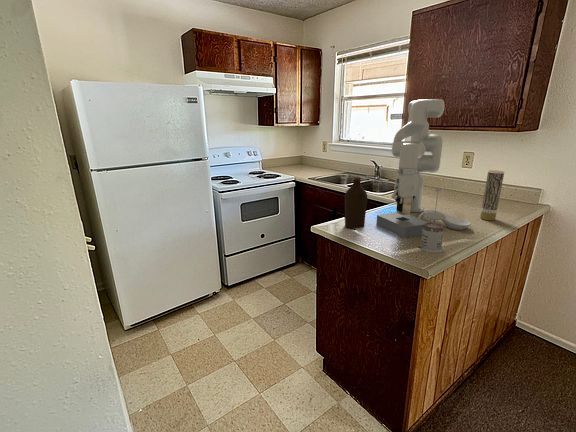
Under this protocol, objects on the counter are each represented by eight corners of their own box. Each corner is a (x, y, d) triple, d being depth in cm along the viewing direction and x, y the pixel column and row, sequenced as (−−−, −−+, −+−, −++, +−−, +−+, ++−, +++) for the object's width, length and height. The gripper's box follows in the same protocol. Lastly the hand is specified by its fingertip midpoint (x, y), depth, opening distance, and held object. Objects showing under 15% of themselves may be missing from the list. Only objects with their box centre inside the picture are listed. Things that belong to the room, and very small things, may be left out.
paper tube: (482, 216, 167) (490, 169, 159) (496, 218, 162) (505, 171, 155) (478, 219, 162) (486, 171, 155) (493, 221, 158) (502, 172, 150)
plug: (396, 213, 146) (398, 190, 142) (403, 211, 147) (405, 189, 144) (402, 215, 142) (404, 191, 139) (410, 214, 143) (412, 191, 140)
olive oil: (369, 226, 154) (373, 176, 146) (357, 232, 147) (360, 179, 139) (351, 222, 161) (354, 174, 154) (339, 226, 154) (341, 177, 147)
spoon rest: (470, 226, 152) (472, 212, 150) (469, 234, 143) (471, 219, 140) (419, 219, 164) (420, 206, 162) (414, 225, 155) (416, 212, 152)
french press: (418, 250, 125) (425, 190, 118) (417, 240, 135) (424, 184, 128) (445, 253, 122) (454, 191, 114) (442, 243, 132) (450, 185, 125)
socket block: (376, 226, 154) (377, 215, 152) (399, 222, 158) (400, 211, 157) (404, 240, 136) (405, 227, 134) (429, 235, 140) (430, 223, 139)
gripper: (397, 174, 132) (394, 214, 138) (428, 171, 138) (423, 210, 144) (386, 171, 139) (383, 210, 145) (416, 168, 145) (412, 206, 150)
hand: (403, 210), depth 144 cm, fingers closed on plug, 4 cm apart
